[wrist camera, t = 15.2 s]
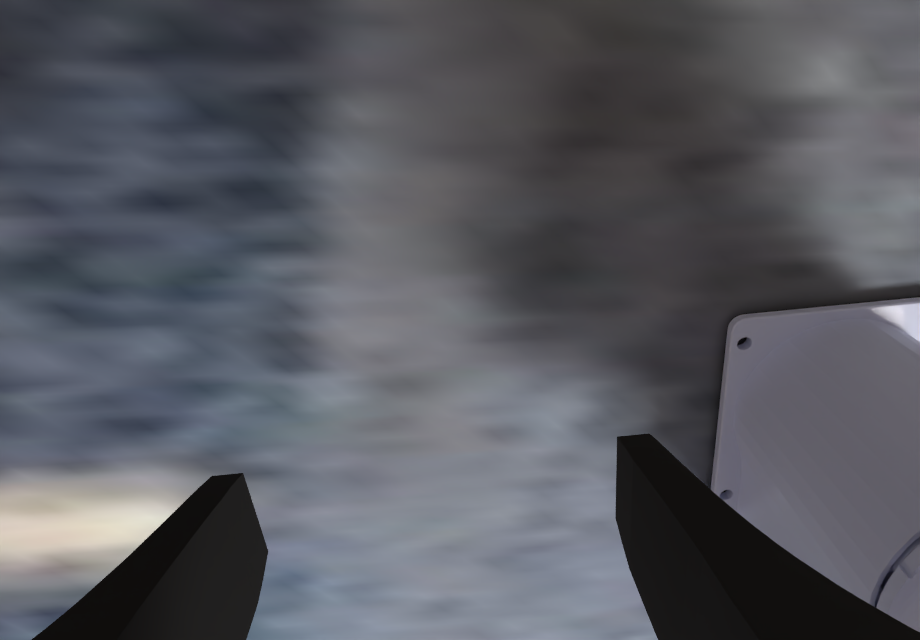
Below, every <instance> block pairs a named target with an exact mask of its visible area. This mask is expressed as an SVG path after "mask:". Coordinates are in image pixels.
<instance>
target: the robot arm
mask: <svg viewBox="0 0 920 640" xmlns="http://www.w3.org/2000/svg"><path fill="white" fill-rule="evenodd" d="M744 337H747V339H746V341H745V342H744V343H743V344H741V345H737V343H738V341H739V340H740V339H741V338H744ZM724 490H727V491H726V492H724V493H721V492H723V491H724ZM616 521H617V525H618V529H619V533H620V536H621V540H622V544H623V547H624V551H625V554H626V558H627V561H628V565H629V568H630V571H631V574H632V576H633V579H634V581H635V584H636V586H637V589H638V591H639V594H640V596H641V599H642V601H643V604H644V606H645V609H646V611H647V614H648V616H649V619H650V621H651V623H652V626H653V628H654V631H655V633H656V636H657V638H658V640H920V297H916V298H906V299H896V300H886V301H875V302H865V303H855V304H845V305H834V306H824V307H814V308H804V309H793V310H783V311H773V312H763V313H752V314H743V315H739V316H737V317H735V318H734V319H732V321H731V322H730V323H729V326H728V330H727V339H726V349H725V358H724V368H723V377H722V387H721V396H720V406H719V415H718V425H717V434H716V443H715V453H714V462H713V472H712V481H711V490H710V489H709V488H708V487H707V486H706V485H705V484H704V483H703V482H701V481H700V480H699V479H698V478H697V477H696V476H695V475H694V474H693V473H692V472H690V471H689V470H688V469H687V468H686V467H685V466H684V465H683V464H682V463H681V462H680V461H679V460H677V459H676V458H675V457H674V456H673V455H672V454H671V453H670V452H669V451H668V450H667V449H666V448H665V447H664V446H663V445H661V444H660V443H659V442H658V441H657V440H656V439H655V438H654V437H653V436H652V435H650V434H641V435H631V436H620V437H617V476H616ZM267 555H268V549H267V546H266V543H265V540H264V537H263V534H262V531H261V527H260V524H259V521H258V518H257V515H256V512H255V509H254V506H253V503H252V500H251V496H250V493H249V490H248V487H247V484H246V481H245V478H244V475H243V473H239V474H229V475H218V476H211V477H210V478H209V479H208V480H207V481H206V482H205V483H204V484H203V485H202V486H200V487H199V488H198V489H197V490H196V491H195V492H194V493H193V494H192V495H191V496H190V497H189V498H188V499H187V500H186V501H185V502H184V503H183V504H182V505H181V506H180V507H179V508H178V509H177V510H176V511H175V512H174V513H173V514H172V515H171V516H170V517H169V518H168V519H167V520H166V521H165V522H164V523H163V524H162V525H161V526H160V527H158V528H157V529H156V530H155V531H154V532H153V533H152V534H151V535H150V536H149V537H148V538H147V539H146V540H145V541H144V542H143V543H142V544H141V545H140V546H139V547H138V548H137V549H136V550H135V551H134V552H133V553H132V554H131V555H129V556H128V557H127V558H126V559H125V560H124V561H123V562H122V563H121V564H120V565H119V566H117V567H116V568H115V569H114V570H113V571H112V572H111V573H110V574H108V575H107V576H106V577H105V578H104V579H103V580H102V581H101V582H100V583H98V584H97V585H96V586H95V587H94V588H93V589H92V590H91V591H90V592H88V593H87V594H86V595H85V596H84V597H83V598H82V599H81V600H79V601H78V602H77V603H76V604H75V605H74V606H73V607H71V608H70V609H69V610H68V611H67V612H65V613H64V614H63V615H62V616H61V617H59V618H58V619H57V620H56V621H55V622H53V623H52V624H51V625H50V626H48V627H47V628H46V629H45V630H43V631H42V632H41V633H40V634H38V635H37V636H36V637H34V638H33V639H32V640H246V638H247V635H248V632H249V629H250V626H251V623H252V620H253V617H254V614H255V611H256V607H257V604H258V600H259V596H260V591H261V586H262V581H263V576H264V571H265V565H266V560H267Z"/></svg>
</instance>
